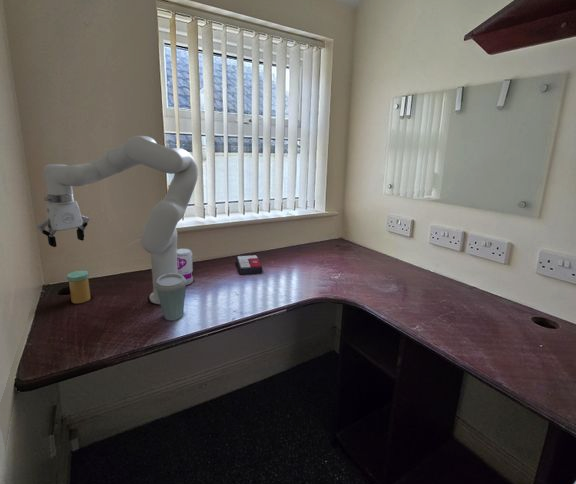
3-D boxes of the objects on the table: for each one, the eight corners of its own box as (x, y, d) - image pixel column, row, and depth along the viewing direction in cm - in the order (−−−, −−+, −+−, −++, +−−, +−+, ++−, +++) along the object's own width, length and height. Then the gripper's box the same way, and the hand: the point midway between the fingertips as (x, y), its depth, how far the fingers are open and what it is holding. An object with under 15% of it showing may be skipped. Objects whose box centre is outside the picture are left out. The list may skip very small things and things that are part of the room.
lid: (91, 278, 122) (90, 274, 122) (70, 283, 117) (69, 279, 117) (85, 272, 127) (85, 269, 126) (65, 277, 122) (64, 273, 121)
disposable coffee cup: (192, 318, 114) (190, 280, 110) (161, 327, 108) (158, 287, 104) (183, 306, 123) (181, 269, 119) (153, 313, 117) (150, 275, 113)
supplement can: (187, 287, 138) (186, 255, 134) (170, 285, 140) (168, 252, 136) (196, 279, 146) (195, 249, 142) (179, 277, 147) (178, 247, 143)
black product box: (240, 267, 153) (236, 255, 166) (240, 275, 154) (236, 262, 168) (262, 266, 156) (257, 254, 169) (262, 273, 157) (256, 261, 171)
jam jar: (93, 299, 124) (89, 275, 122) (73, 305, 120) (70, 279, 117) (87, 294, 129) (84, 270, 126) (69, 299, 124) (65, 274, 121)
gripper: (39, 203, 107) (46, 251, 111) (91, 196, 122) (96, 239, 126) (28, 200, 110) (36, 247, 115) (80, 194, 125) (85, 236, 129)
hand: (67, 243), depth 120 cm, fingers open, 9 cm apart
